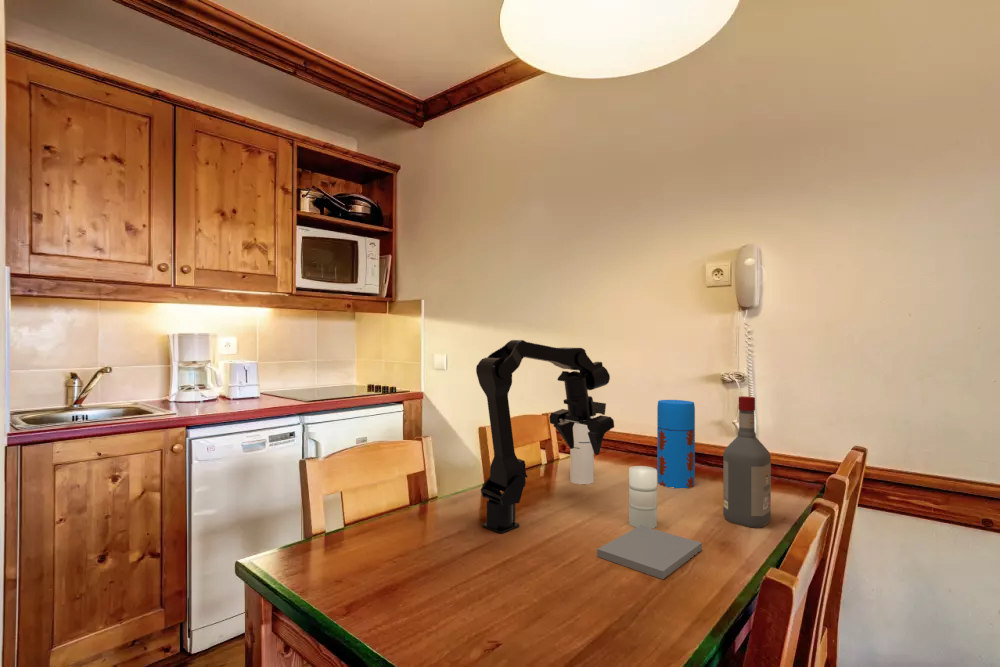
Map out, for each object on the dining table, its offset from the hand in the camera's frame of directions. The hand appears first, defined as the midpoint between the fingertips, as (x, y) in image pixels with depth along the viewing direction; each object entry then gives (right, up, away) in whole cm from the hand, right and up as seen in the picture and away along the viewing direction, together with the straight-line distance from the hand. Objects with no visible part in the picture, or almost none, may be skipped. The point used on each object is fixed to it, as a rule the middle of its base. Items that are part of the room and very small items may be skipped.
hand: (584, 451), depth 133 cm
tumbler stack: (+12, -14, -14) cm, 23 cm away
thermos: (+31, -15, +20) cm, 40 cm away
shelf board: (+8, -14, -30) cm, 34 cm away
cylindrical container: (+3, -15, +22) cm, 26 cm away
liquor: (+38, -14, -11) cm, 42 cm away
